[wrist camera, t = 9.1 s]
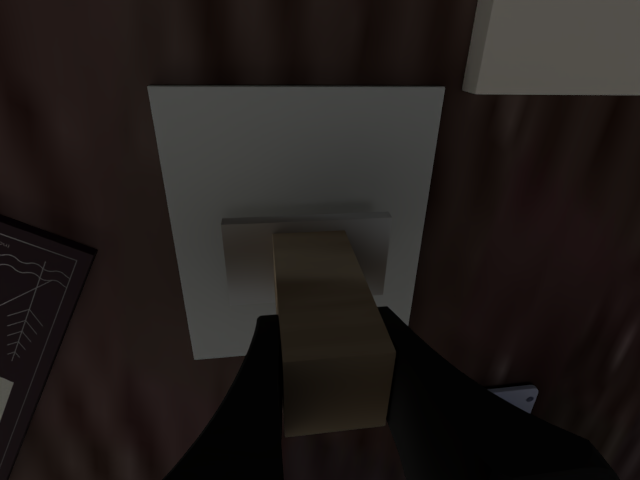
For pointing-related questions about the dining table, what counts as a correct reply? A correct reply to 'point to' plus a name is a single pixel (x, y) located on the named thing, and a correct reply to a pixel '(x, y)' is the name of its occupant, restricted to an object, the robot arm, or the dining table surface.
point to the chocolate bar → (32, 320)
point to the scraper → (320, 311)
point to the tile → (555, 48)
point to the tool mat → (288, 180)
